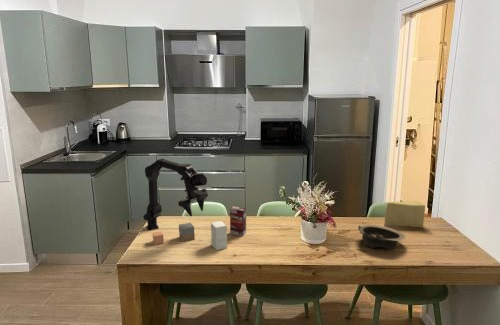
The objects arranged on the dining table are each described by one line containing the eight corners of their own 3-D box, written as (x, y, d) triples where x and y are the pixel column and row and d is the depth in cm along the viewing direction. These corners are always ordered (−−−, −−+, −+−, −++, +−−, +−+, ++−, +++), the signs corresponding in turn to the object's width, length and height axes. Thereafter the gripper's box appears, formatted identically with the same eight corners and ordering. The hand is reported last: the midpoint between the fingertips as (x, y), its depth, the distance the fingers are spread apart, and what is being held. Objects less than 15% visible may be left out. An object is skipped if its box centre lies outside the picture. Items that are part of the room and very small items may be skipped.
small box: (227, 248, 206) (227, 225, 203) (216, 250, 204) (215, 227, 201) (221, 242, 214) (221, 220, 211) (211, 244, 211) (210, 222, 208)
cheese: (386, 228, 233) (388, 204, 229) (381, 221, 242) (383, 199, 239) (423, 228, 232) (426, 204, 228) (417, 222, 241) (419, 199, 238)
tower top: (179, 231, 220) (178, 224, 219) (190, 228, 223) (190, 222, 222) (182, 235, 214) (182, 228, 213) (194, 233, 217) (194, 226, 216)
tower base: (179, 237, 221) (179, 231, 220) (191, 235, 224) (190, 228, 223) (182, 242, 215) (182, 235, 214) (194, 239, 218) (194, 233, 217)
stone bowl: (355, 249, 203) (356, 233, 202) (359, 235, 227) (360, 219, 225) (405, 256, 195) (406, 239, 194) (403, 240, 218) (405, 224, 217)
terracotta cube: (153, 241, 216) (152, 232, 214) (161, 239, 218) (161, 231, 216) (154, 244, 211) (154, 236, 210) (163, 243, 213) (163, 234, 212)
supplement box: (229, 234, 224) (229, 208, 221) (233, 231, 229) (232, 206, 225) (243, 236, 221) (243, 210, 217) (246, 233, 225) (246, 207, 222)
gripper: (189, 190, 201) (195, 218, 203) (211, 181, 216) (217, 207, 218) (174, 191, 208) (181, 219, 210) (197, 182, 223) (203, 208, 225)
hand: (196, 213), depth 215 cm, fingers open, 9 cm apart
